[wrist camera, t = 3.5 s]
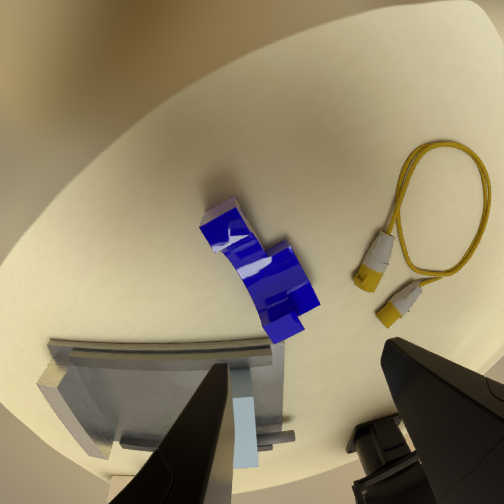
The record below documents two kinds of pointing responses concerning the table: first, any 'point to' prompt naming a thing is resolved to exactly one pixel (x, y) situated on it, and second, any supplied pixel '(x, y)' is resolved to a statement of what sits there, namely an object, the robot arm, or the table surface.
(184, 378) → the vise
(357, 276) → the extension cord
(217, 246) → the cable holder
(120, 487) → the medicine bottle
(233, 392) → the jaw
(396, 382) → the robot arm
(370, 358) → the table surface
